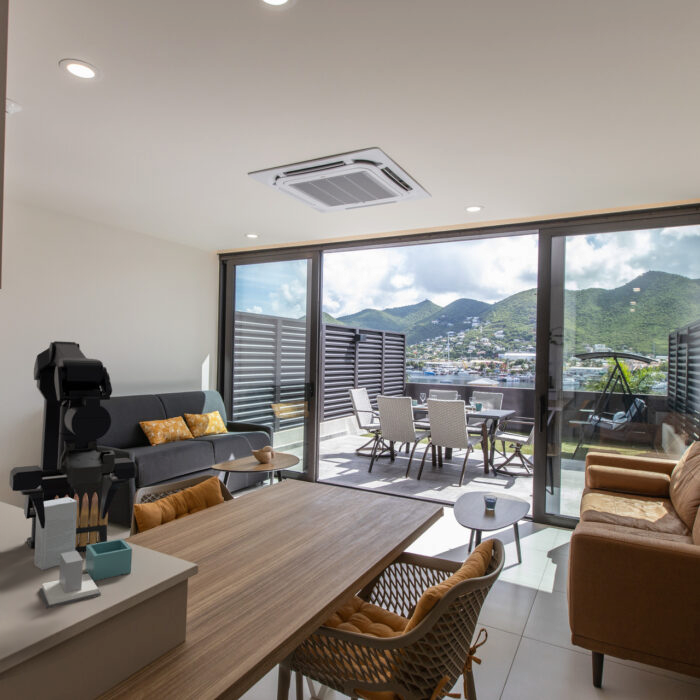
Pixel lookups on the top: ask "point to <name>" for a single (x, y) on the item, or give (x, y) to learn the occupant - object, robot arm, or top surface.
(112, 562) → the teal open box
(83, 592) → the lid
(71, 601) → the mat
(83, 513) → the ammunition clip
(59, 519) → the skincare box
